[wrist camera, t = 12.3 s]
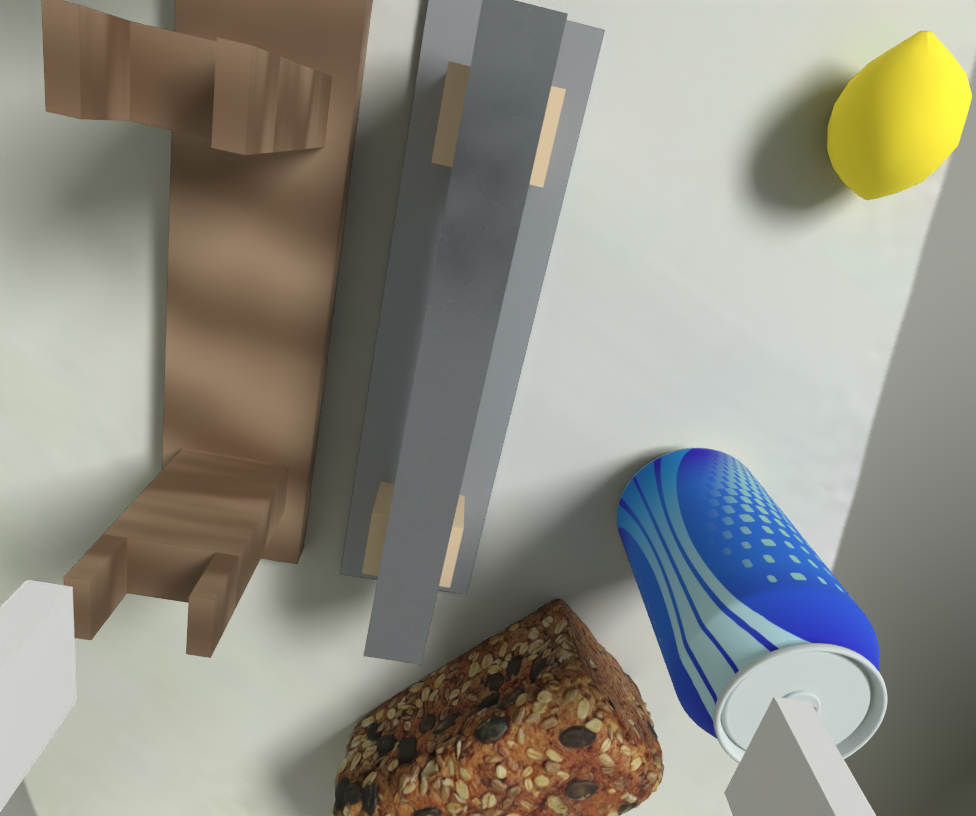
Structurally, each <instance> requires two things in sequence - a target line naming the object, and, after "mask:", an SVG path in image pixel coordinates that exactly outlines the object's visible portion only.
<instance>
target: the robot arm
mask: <svg viewBox="0 0 976 816" xmlns="http://www.w3.org/2000/svg"><path fill="white" fill-rule="evenodd" d="M76 702H77V691H76V664H75V637H74V610H73V587H71V586H64V585H58V584H51V583H45V582H39V581H32V580H26V581H25V582H24V583H23V584H22V585H21V586H20V587H19V588H18V589H17V590H16V591H15V592H14V593H13V594H12V595H11V596H10V597H9V598H8V599H7V600H6V601H5V602H4V603H3V604H2V605H1V606H0V812H1V810H2V809H3V807H4V806H5V805H6V803H7V802H8V800H9V799H10V797H11V796H12V794H13V793H14V792H15V790H16V789H17V787H18V786H19V784H20V783H21V781H22V780H23V779H24V777H25V776H26V774H27V773H28V771H29V770H30V769H31V767H32V766H33V764H34V763H35V761H36V760H37V758H38V757H39V756H40V754H41V753H42V751H43V750H44V748H45V747H46V745H47V744H48V743H49V741H50V740H51V738H52V737H53V735H54V734H55V732H56V731H57V730H58V728H59V727H60V725H61V724H62V722H63V721H64V720H65V718H66V717H67V715H68V714H69V712H70V711H71V709H72V708H73V707H74V705H75V704H76ZM725 795H726V798H727V801H728V803H729V806H730V809H731V811H732V814H733V816H876V815H875V813H874V811H873V810H872V808H871V806H870V804H869V803H868V801H867V799H866V798H865V796H864V794H863V792H862V791H861V789H860V787H859V785H858V784H857V782H856V780H855V778H854V777H853V775H852V773H851V771H850V770H849V768H848V766H847V764H846V763H845V761H844V759H843V758H842V756H841V754H840V752H839V751H838V749H837V747H836V745H835V744H834V742H833V740H832V738H831V737H830V735H829V733H828V732H827V730H826V728H825V726H824V725H823V723H822V721H821V719H820V718H819V716H818V714H817V712H816V711H815V709H814V707H813V705H812V704H811V702H806V701H800V700H794V699H787V698H781V697H773V699H772V701H771V703H770V705H769V707H768V709H767V711H766V713H765V715H764V717H763V719H762V721H761V722H760V724H759V726H758V728H757V730H756V732H755V734H754V736H753V738H752V740H751V742H750V744H749V746H748V748H747V750H746V752H745V754H744V756H743V758H742V759H741V761H740V763H739V765H738V767H737V769H736V771H735V773H734V775H733V777H732V779H731V781H730V783H729V785H728V787H727V789H726V791H725Z"/></svg>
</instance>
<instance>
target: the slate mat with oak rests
mask: <svg viewBox="0 0 976 816" xmlns="http://www.w3.org/2000/svg"><path fill="white" fill-rule="evenodd" d="M481 5H482V0H429V1H428V7H427V13H426V20H425V26H424V33H423V39H422V46H421V52H420V59H419V65H418V72H417V78H416V85H415V91H414V98H413V104H412V111H411V117H410V124H409V130H408V137H407V143H406V150H405V156H404V163H403V169H402V176H401V182H400V189H399V195H398V202H397V208H396V215H395V221H394V228H393V234H392V241H391V247H390V253H389V260H388V266H387V273H386V279H385V286H384V292H383V299H382V305H381V312H380V318H379V325H378V331H377V338H376V344H375V351H374V357H373V364H372V370H371V377H370V383H369V390H368V396H367V403H366V409H365V416H364V422H363V429H362V435H361V442H360V448H359V455H358V461H357V468H356V474H355V480H354V487H353V493H352V500H351V506H350V513H349V519H348V526H347V532H346V539H345V545H344V552H343V558H342V565H341V571H340V574H343V575H349V576H355V577H361V578H367V579H374V580H378V574H379V569H380V563H381V558H382V552H383V547H384V541H385V536H386V530H387V525H388V519H389V514H390V508H391V503H392V497H393V491H394V486H395V480H396V475H397V469H398V464H399V458H400V453H401V447H402V442H403V436H404V431H405V425H406V420H407V414H408V409H409V403H410V398H411V392H412V386H413V381H414V375H415V370H416V364H417V359H418V353H419V348H420V342H421V337H422V331H423V326H424V320H425V315H426V309H427V304H428V298H429V293H430V287H431V281H432V276H433V270H434V265H435V259H436V254H437V248H438V243H439V237H440V232H441V226H442V221H443V215H444V210H445V204H446V199H447V193H448V188H449V182H450V177H451V171H452V165H453V160H454V154H455V149H456V143H457V138H458V132H459V127H460V121H461V116H462V110H463V105H464V99H465V94H466V88H467V83H468V77H469V72H470V66H471V60H472V55H473V49H474V44H475V38H476V33H477V27H478V22H479V16H480V11H481ZM604 32H605V30H604V29H600V28H596V27H592V26H588V25H584V24H580V23H576V22H572V21H568V20H566V23H565V28H564V32H563V37H562V41H561V45H560V50H559V54H558V59H557V63H556V68H555V72H554V77H553V81H552V86H551V90H550V94H549V99H548V103H547V108H546V112H545V117H544V121H543V126H542V130H541V134H540V139H539V143H538V148H537V152H536V157H535V161H534V166H533V170H532V174H531V179H530V183H529V188H528V192H527V197H526V201H525V206H524V210H523V214H522V219H521V223H520V228H519V232H518V237H517V241H516V246H515V250H514V254H513V259H512V263H511V268H510V272H509V277H508V281H507V286H506V290H505V295H504V299H503V303H502V308H501V312H500V317H499V321H498V326H497V330H496V335H495V339H494V343H493V348H492V352H491V357H490V361H489V366H488V370H487V375H486V379H485V383H484V388H483V392H482V397H481V401H480V406H479V410H478V415H477V419H476V423H475V428H474V432H473V437H472V441H471V446H470V450H469V455H468V459H467V463H466V468H465V472H464V477H463V481H462V486H461V490H460V495H459V499H458V503H457V508H456V512H455V517H454V521H453V526H452V530H451V535H450V539H449V544H448V548H447V552H446V557H445V561H444V566H443V570H442V575H441V579H440V584H439V588H438V590H442V591H448V592H454V593H460V594H467V590H468V586H469V582H470V577H471V573H472V569H473V565H474V561H475V557H476V553H477V549H478V545H479V541H480V537H481V533H482V529H483V525H484V520H485V516H486V512H487V508H488V504H489V500H490V496H491V492H492V488H493V484H494V480H495V476H496V472H497V468H498V463H499V459H500V455H501V451H502V447H503V443H504V439H505V435H506V431H507V427H508V423H509V419H510V415H511V411H512V406H513V402H514V398H515V394H516V390H517V386H518V382H519V378H520V374H521V370H522V366H523V362H524V358H525V354H526V349H527V345H528V341H529V337H530V333H531V329H532V325H533V321H534V317H535V313H536V309H537V305H538V301H539V297H540V292H541V288H542V284H543V280H544V276H545V272H546V268H547V264H548V260H549V256H550V252H551V248H552V244H553V240H554V235H555V231H556V227H557V223H558V219H559V215H560V211H561V207H562V203H563V199H564V195H565V191H566V187H567V182H568V178H569V174H570V170H571V166H572V162H573V158H574V154H575V150H576V146H577V142H578V138H579V134H580V130H581V125H582V121H583V117H584V113H585V109H586V105H587V101H588V97H589V93H590V89H591V85H592V81H593V77H594V73H595V68H596V64H597V60H598V56H599V52H600V48H601V44H602V40H603V36H604Z"/></svg>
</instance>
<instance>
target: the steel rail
mask: <svg viewBox="0 0 976 816" xmlns="http://www.w3.org/2000/svg"><path fill="white" fill-rule="evenodd" d="M566 19H567V14H566V13H562V12H558V11H554V10H550V9H546V8H542V7H538V6H535V5H531V4H527V3H523V2H519V1H515V0H482V5H481V11H480V16H479V22H478V27H477V33H476V38H475V44H474V49H473V55H472V60H471V66H470V72H469V77H468V83H467V88H466V94H465V99H464V105H463V110H462V116H461V121H460V127H459V132H458V138H457V143H456V149H455V154H454V160H453V165H452V171H451V177H450V182H449V188H448V193H447V199H446V204H445V210H444V215H443V221H442V226H441V232H440V237H439V243H438V248H437V254H436V259H435V265H434V270H433V276H432V281H431V287H430V293H429V298H428V304H427V309H426V315H425V320H424V326H423V331H422V337H421V342H420V348H419V353H418V359H417V364H416V370H415V375H414V381H413V386H412V392H411V398H410V403H409V409H408V414H407V420H406V425H405V431H404V436H403V442H402V447H401V453H400V458H399V464H398V469H397V475H396V480H395V486H394V491H393V497H392V503H391V508H390V514H389V519H388V525H387V530H386V536H385V541H384V547H383V552H382V558H381V563H380V569H379V574H378V580H377V585H376V591H375V596H374V602H373V608H372V613H371V619H370V624H369V630H368V635H367V641H366V646H365V652H364V656H367V657H374V658H381V659H387V660H394V661H401V662H407V663H414V664H422V659H423V655H424V650H425V646H426V641H427V637H428V632H429V628H430V624H431V619H432V615H433V610H434V606H435V601H436V597H437V592H438V588H439V584H440V579H441V575H442V570H443V566H444V561H445V557H446V552H447V548H448V544H449V539H450V535H451V530H452V526H453V521H454V517H455V512H456V508H457V503H458V499H459V495H460V490H461V486H462V481H463V477H464V472H465V468H466V463H467V459H468V455H469V450H470V446H471V441H472V437H473V432H474V428H475V423H476V419H477V415H478V410H479V406H480V401H481V397H482V392H483V388H484V383H485V379H486V375H487V370H488V366H489V361H490V357H491V352H492V348H493V343H494V339H495V335H496V330H497V326H498V321H499V317H500V312H501V308H502V303H503V299H504V295H505V290H506V286H507V281H508V277H509V272H510V268H511V263H512V259H513V254H514V250H515V246H516V241H517V237H518V232H519V228H520V223H521V219H522V214H523V210H524V206H525V201H526V197H527V192H528V188H529V183H530V179H531V174H532V170H533V166H534V161H535V157H536V152H537V148H538V143H539V139H540V134H541V130H542V126H543V121H544V117H545V112H546V108H547V103H548V99H549V94H550V90H551V86H552V81H553V77H554V72H555V68H556V63H557V59H558V54H559V50H560V45H561V41H562V37H563V32H564V28H565V23H566Z"/></svg>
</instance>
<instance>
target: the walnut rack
mask: <svg viewBox="0 0 976 816" xmlns="http://www.w3.org/2000/svg"><path fill="white" fill-rule="evenodd" d="M41 1H42V27H43V53H44V79H45V105H46V112H51V113H55V114H60V115H65V116H69V117H74V118H78V119H93V120H124V121H133V122H138V123H142V124H147V125H151V126H156V127H160V128H165V129H169V130H172V138H171V174H170V209H169V245H168V280H167V315H166V351H165V386H164V422H163V457H162V471H161V472H160V473H159V474H158V476H157V477H156V478H155V479H154V480H153V481H152V482H151V483H150V484H149V485H148V486H147V487H146V489H145V490H144V491H143V492H142V493H141V494H140V495H139V496H138V497H137V498H136V499H135V500H134V501H133V503H132V504H131V505H130V506H129V507H128V508H127V509H126V510H125V511H124V512H123V513H122V514H121V516H120V517H119V518H118V519H117V520H116V521H115V522H114V523H113V524H112V525H111V526H110V527H109V529H108V530H107V531H106V532H105V533H104V534H103V535H102V536H101V537H100V538H99V539H98V540H97V542H96V543H95V544H94V545H93V546H92V547H91V548H90V549H89V550H88V551H87V552H86V553H85V554H84V556H83V557H82V558H81V559H80V560H79V561H78V562H77V563H76V564H75V565H74V566H73V567H72V569H71V570H70V571H69V572H68V573H67V574H66V575H65V576H64V586H71V587H73V610H74V637H75V638H79V639H86V640H92V639H93V637H94V636H95V635H96V633H97V632H98V631H99V629H100V628H101V627H102V625H103V624H104V623H105V621H106V620H107V619H108V617H109V616H110V615H111V613H112V612H113V611H114V610H115V608H116V607H117V606H118V604H119V603H120V602H121V600H122V599H123V598H124V596H125V595H126V594H127V593H129V594H136V595H142V596H149V597H155V598H162V599H168V600H175V601H181V602H188V603H189V606H188V627H187V647H186V654H189V655H196V656H202V657H209V658H211V656H212V654H213V652H214V650H215V648H216V646H217V644H218V642H219V640H220V638H221V636H222V634H223V632H224V630H225V628H226V626H227V624H228V622H229V620H230V618H231V616H232V614H233V612H234V610H235V608H236V606H237V604H238V602H239V600H240V598H241V596H242V594H243V592H244V590H245V588H246V586H247V584H248V582H249V580H250V579H251V577H252V575H253V573H254V571H255V569H256V567H257V565H258V563H259V561H260V559H261V558H262V559H269V560H275V561H281V562H287V563H293V564H298V561H299V559H300V556H301V554H302V551H303V548H304V540H305V532H306V524H307V516H308V508H309V500H310V492H311V484H312V476H313V468H314V461H315V453H316V445H317V437H318V429H319V421H320V413H321V405H322V397H323V389H324V381H325V374H326V366H327V358H328V350H329V342H330V334H331V326H332V318H333V310H334V302H335V294H336V286H337V279H338V271H339V263H340V255H341V247H342V239H343V231H344V223H345V215H346V207H347V199H348V192H349V184H350V176H351V168H352V160H353V152H354V144H355V136H356V128H357V120H358V112H359V104H360V97H361V89H362V81H363V73H364V65H365V57H366V49H367V41H368V33H369V25H370V17H371V10H372V2H373V0H175V32H174V31H170V30H165V29H161V28H157V27H153V26H148V25H144V24H140V23H136V22H131V21H128V20H125V19H122V18H119V17H115V16H112V15H109V14H106V13H103V12H100V11H97V10H94V9H91V8H87V7H84V6H81V5H78V4H74V3H69V2H65V1H61V0H41Z"/></svg>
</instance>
